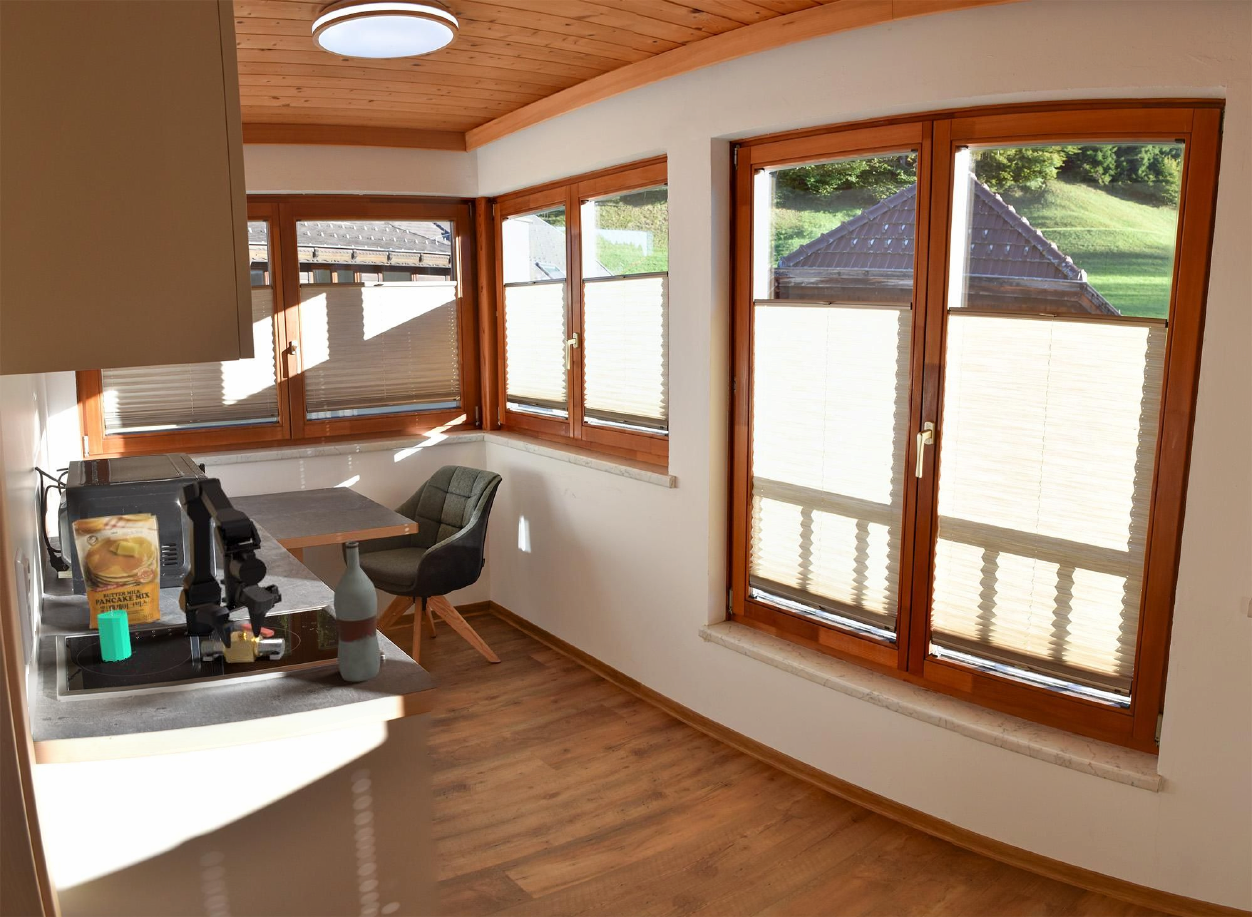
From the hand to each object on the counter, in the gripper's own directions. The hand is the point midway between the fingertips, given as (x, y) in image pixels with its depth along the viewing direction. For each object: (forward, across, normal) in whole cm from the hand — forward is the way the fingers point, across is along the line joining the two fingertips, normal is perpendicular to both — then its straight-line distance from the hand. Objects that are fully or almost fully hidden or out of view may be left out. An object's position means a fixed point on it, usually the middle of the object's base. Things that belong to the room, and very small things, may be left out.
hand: (242, 642), depth 209 cm
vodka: (+7, +11, -23) cm, 27 cm away
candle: (+8, -6, +35) cm, 36 cm away
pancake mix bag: (+7, +10, +54) cm, 55 cm away
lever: (0, +6, +3) cm, 7 cm away
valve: (+7, +7, +8) cm, 12 cm away
